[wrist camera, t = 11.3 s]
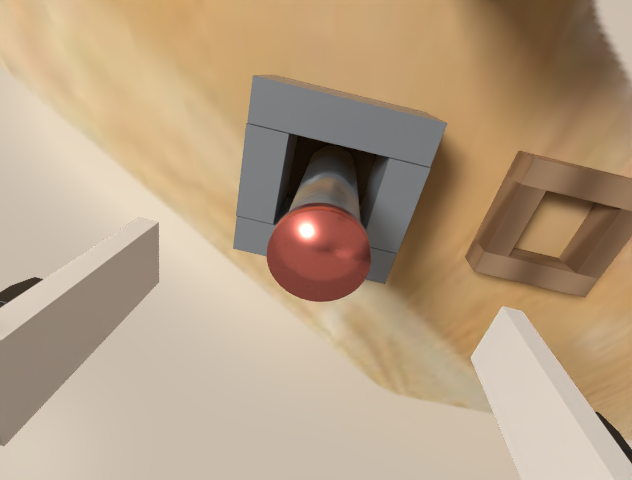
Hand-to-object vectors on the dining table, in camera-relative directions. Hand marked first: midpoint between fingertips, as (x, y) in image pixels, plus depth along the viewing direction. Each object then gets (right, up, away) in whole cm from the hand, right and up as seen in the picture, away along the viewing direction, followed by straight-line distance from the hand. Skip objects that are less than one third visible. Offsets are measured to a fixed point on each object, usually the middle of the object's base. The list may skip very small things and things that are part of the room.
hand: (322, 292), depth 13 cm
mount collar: (+20, +4, +16) cm, 25 cm away
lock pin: (+1, +8, +15) cm, 17 cm away
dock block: (+1, +8, +15) cm, 17 cm away
